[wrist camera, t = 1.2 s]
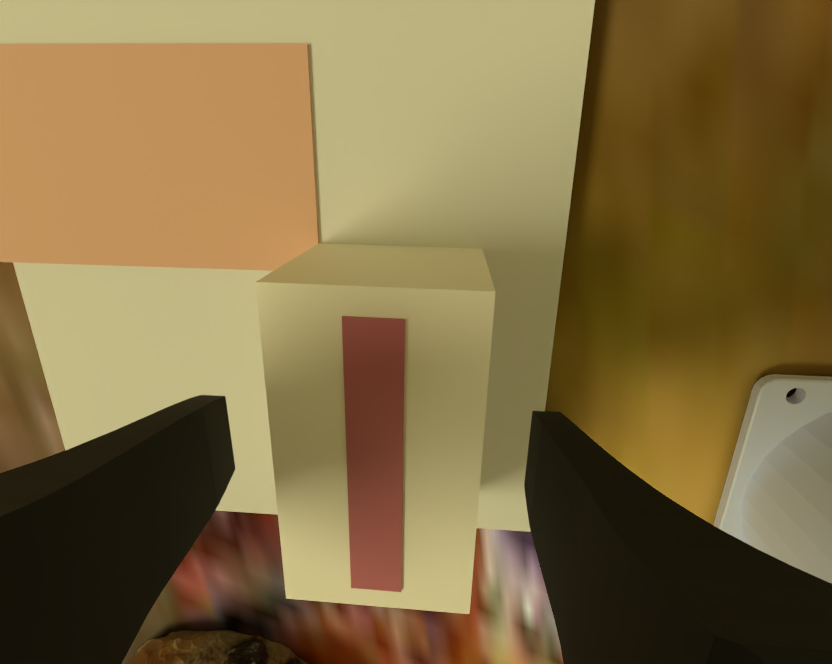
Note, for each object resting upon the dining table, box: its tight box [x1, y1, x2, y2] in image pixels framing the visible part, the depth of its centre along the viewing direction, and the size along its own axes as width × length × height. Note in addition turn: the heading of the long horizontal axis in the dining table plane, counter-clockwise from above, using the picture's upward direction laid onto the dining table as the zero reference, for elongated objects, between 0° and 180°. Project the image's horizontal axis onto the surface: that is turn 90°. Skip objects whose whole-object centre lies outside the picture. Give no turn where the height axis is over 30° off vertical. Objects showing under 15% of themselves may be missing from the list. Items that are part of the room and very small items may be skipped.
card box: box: [255, 243, 496, 614], centre depth 12 cm, size 4×8×5 cm, turn 179°
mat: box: [0, 0, 595, 532], centre depth 14 cm, size 16×16×1 cm
